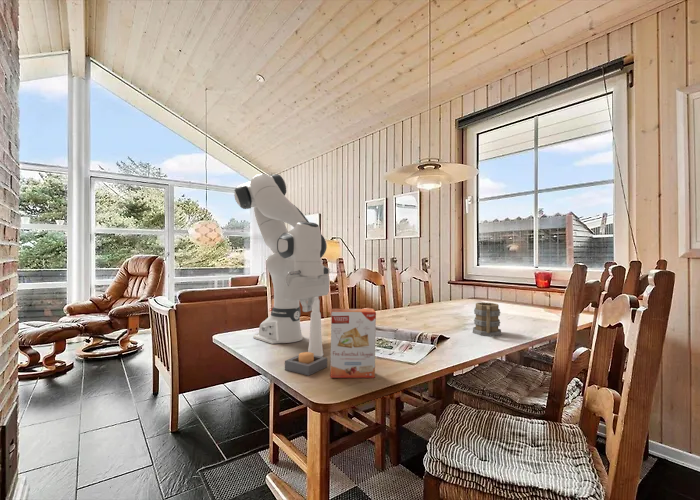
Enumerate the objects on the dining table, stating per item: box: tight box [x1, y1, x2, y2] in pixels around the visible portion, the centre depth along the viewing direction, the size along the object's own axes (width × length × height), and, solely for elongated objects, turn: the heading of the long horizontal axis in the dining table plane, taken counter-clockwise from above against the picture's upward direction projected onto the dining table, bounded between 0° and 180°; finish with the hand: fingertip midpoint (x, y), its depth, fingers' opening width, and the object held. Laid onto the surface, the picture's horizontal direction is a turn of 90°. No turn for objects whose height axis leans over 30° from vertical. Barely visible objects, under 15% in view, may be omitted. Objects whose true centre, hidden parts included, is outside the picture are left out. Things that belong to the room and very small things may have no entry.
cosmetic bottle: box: [307, 296, 324, 357], centre depth 133 cm, size 6×6×22 cm
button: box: [298, 351, 314, 364], centre depth 119 cm, size 5×5×4 cm
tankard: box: [472, 302, 502, 337], centre depth 167 cm, size 20×13×15 cm, turn 158°
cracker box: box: [330, 308, 377, 379], centre depth 112 cm, size 14×6×21 cm, turn 93°
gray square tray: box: [284, 354, 328, 377], centre depth 119 cm, size 10×10×3 cm
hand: (307, 311), depth 119 cm, fingers closed
